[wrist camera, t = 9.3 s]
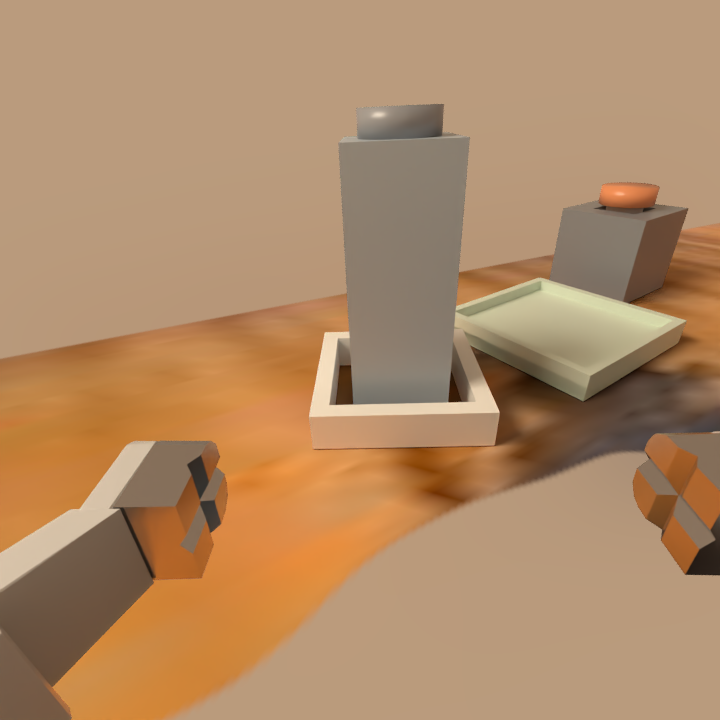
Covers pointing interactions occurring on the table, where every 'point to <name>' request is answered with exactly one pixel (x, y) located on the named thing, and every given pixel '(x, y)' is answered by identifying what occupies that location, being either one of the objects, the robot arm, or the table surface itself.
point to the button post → (616, 249)
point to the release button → (628, 197)
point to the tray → (566, 334)
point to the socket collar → (402, 408)
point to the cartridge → (402, 251)
